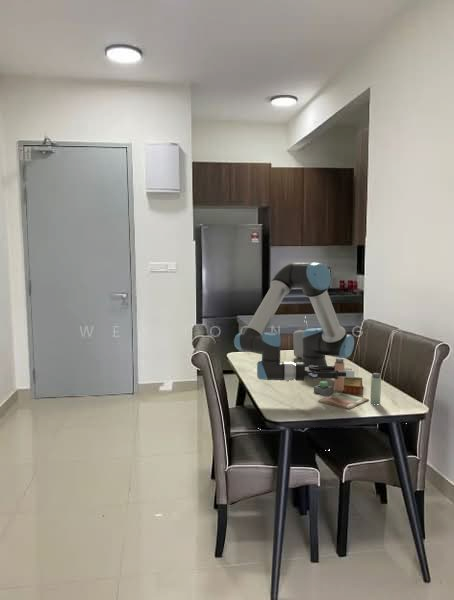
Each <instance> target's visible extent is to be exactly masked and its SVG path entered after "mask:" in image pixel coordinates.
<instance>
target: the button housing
mask: <svg viewBox="0 0 454 600" xmlns="http://www.w3.org/2000/svg"><path fill="white" fill-rule="evenodd" d="M333 392H334V386H332V385H328V384H327V388H321V387H320V384H318V385H315V386H313V393H315V394H320V395H324V396H326V395H329V394H331V393H333Z"/></svg>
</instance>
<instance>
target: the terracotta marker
mask: <svg viewBox="0 0 454 600" xmlns="http://www.w3.org/2000/svg"><path fill="white" fill-rule="evenodd" d="M344 359H345V358H335V362H334V366H335V371H338V370H344V368H345V361H344ZM333 380H334V383H333V390H334V391H338V392H340V391H341V392H342V390H344V377H338V379H333Z"/></svg>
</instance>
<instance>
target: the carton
mask: <svg viewBox="0 0 454 600" xmlns="http://www.w3.org/2000/svg"><path fill="white" fill-rule="evenodd" d="M362 389H363V377H356V376H354V378H351V377H344V390H342V391H341V393H345V394H349V395H354V396H362V395H361V394H362V391H363V390H362Z"/></svg>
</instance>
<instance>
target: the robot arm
mask: <svg viewBox="0 0 454 600" xmlns="http://www.w3.org/2000/svg"><path fill="white" fill-rule="evenodd" d="M331 277H332V276H331V272H330V270H329V268H328V266H326V264H324V263H323V262H322V263H321V262H290V263H288V264H286V265H285V266H283V267H282V268H281V269H279V270H278V271H277V273H276V274H275V275H274V277H273V278H272V279H271V282H269V283H270V284H269V285H270V287H269V289H268V291H267V293H266V294H265V296H264V297H263V299H262V301H261V303H260V304H259V306H258V308H257V310H256V311H255V313H254V314H253V317H251V319H250V322H249V324H248V325H247V327H246V328H245V330H244V332H240V333H239V332H238V333H237V334H235V337H234V339H233V344H234V347H235V348H236V349H237V350H238V351H242V352H249V353H254V354H258V355H261V360H260V361H258V362H257V363H256V365H257V367H256V369H257V370H256V371H257V373H256V378H257V379H259V380H264V381H286V382H289V381H296V382H302V381H303V382H304V381H305V379H306V377H309V379H310V378H312V379H313V380H315V379H333V380H334V379H338V377H351V378H354V377H355V369H354V370H353V368H352V367H344V370H338V371H335V365H328V362H327V360H326V356H328V357H333V358H337V359H348V358H349V357H350V356H351V355H352V353H353V350H354V346H355V338H354V336H353V335H352V334H348V333H347V331H346V329H345V327H343V326H341V325H340V322H339V319H338V317H337V314H336V311H335V309H334V306H333V304H332V303H333V302H332V300H331V297H330V295H329V292H328V289H329V286H330V285H331ZM293 289H301V290H302V292H303V295H304V296H305V297H308V298H309V300H310V303H311V306H312V308H313V310H314V313H315V316H316V318H317V322H318V323H319V325H320V327H315V328H314V327H313V329H306V330H304V331H303V337H302V358H301V361H300V362H299V361H297V362H294V361H281V345H282V343H281V335H280V333H279V332H274V331H273V332H270V331H269V332H268V331H266V329H267V328H268V326H269V324H270V323H271V320H272V319H273V317H274V316H275V314H276V312H277V310H278V308H279V306H280V305H281V303H282V301H283V300H284V298H285V296H286V295H289V293H290V291H291V290H293ZM265 331H266V332H265Z"/></svg>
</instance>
